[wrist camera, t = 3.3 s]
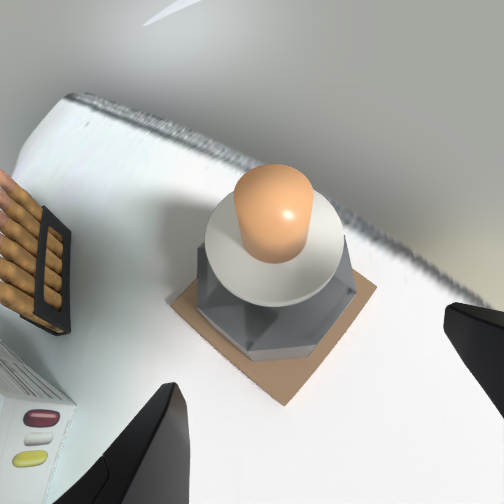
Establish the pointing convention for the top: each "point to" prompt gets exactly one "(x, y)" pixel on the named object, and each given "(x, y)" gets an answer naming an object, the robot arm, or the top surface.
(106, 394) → the top surface
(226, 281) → the pump plunger
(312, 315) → the pump canister
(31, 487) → the supplement box
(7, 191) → the ammunition clip
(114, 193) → the top surface
